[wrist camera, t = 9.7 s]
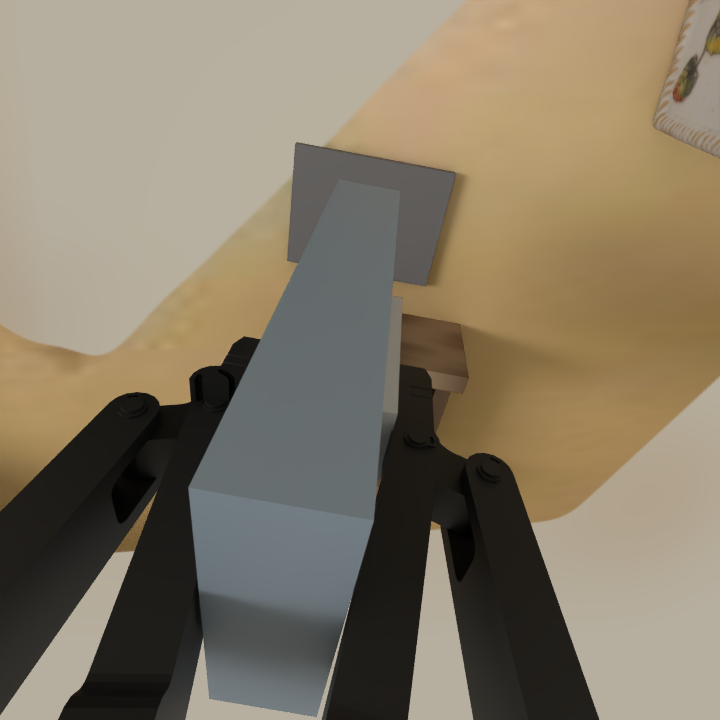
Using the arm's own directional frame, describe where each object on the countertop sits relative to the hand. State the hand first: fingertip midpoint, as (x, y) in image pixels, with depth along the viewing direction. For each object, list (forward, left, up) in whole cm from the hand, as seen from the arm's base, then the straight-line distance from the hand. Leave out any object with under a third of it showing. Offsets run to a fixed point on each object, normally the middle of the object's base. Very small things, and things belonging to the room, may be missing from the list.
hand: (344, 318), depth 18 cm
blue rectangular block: (0, 0, -4) cm, 4 cm away
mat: (0, 0, -12) cm, 12 cm away
